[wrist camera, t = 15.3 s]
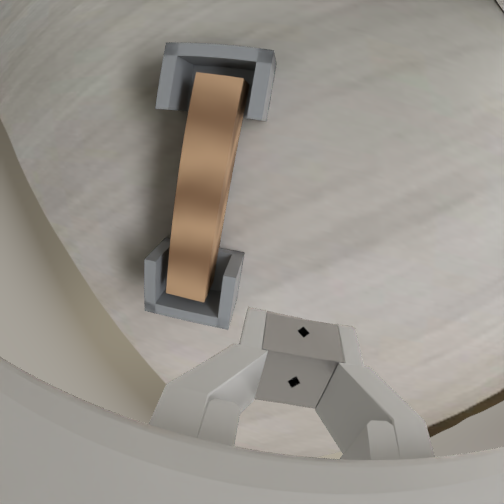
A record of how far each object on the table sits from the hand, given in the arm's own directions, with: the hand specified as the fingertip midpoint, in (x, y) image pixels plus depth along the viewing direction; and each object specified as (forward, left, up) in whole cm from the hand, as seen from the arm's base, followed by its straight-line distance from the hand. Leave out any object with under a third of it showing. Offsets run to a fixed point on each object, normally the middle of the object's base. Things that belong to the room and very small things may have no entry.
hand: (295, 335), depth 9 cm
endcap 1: (-8, -8, -24) cm, 27 cm away
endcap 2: (+12, -8, -24) cm, 28 cm away
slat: (+2, -8, -23) cm, 25 cm away
